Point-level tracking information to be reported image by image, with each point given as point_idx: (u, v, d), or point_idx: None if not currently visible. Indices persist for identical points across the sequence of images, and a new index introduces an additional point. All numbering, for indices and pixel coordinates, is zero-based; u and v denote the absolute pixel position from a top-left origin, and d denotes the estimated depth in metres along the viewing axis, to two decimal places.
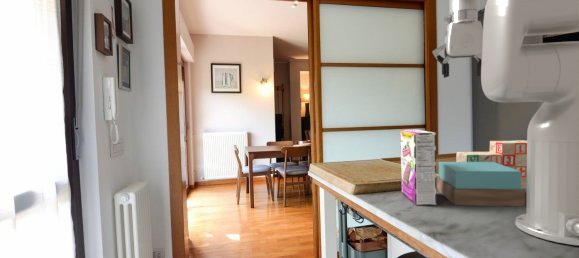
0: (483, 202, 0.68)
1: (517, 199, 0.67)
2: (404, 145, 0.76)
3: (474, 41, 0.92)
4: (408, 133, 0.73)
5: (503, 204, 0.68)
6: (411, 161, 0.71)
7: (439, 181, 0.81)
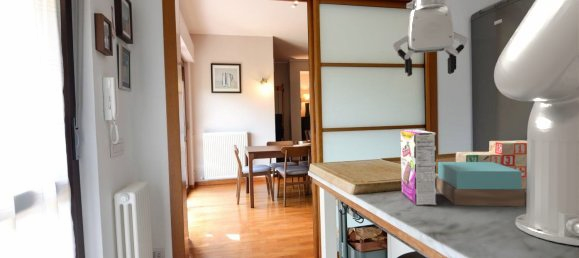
0: (483, 202, 0.68)
1: (517, 199, 0.67)
2: (404, 145, 0.76)
3: (441, 31, 0.75)
4: (408, 133, 0.73)
5: (503, 204, 0.68)
6: (411, 161, 0.71)
7: (439, 181, 0.81)
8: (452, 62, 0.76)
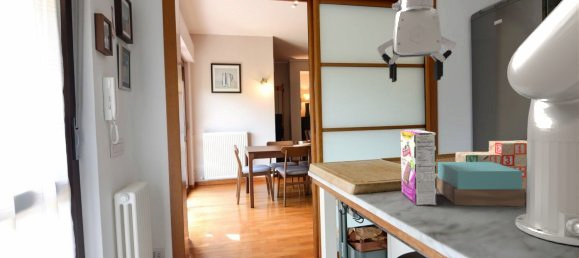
0: (483, 202, 0.68)
1: (517, 199, 0.67)
2: (404, 145, 0.76)
3: (428, 35, 0.70)
4: (408, 133, 0.73)
5: (503, 204, 0.68)
6: (411, 161, 0.71)
7: (439, 181, 0.81)
8: (439, 69, 0.71)
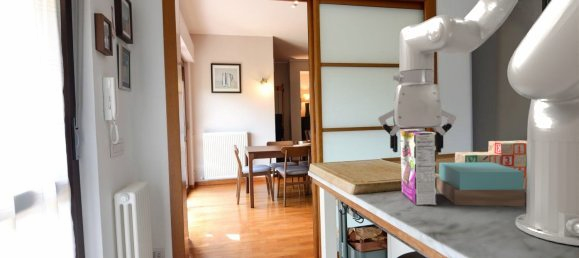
0: (483, 202, 0.69)
1: (517, 199, 0.67)
2: (404, 145, 0.76)
3: (428, 110, 0.71)
4: (408, 133, 0.73)
5: (503, 204, 0.68)
6: (411, 161, 0.71)
7: (439, 181, 0.81)
8: (439, 142, 0.72)
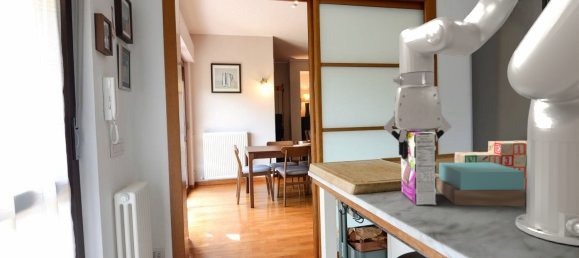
0: (483, 203, 0.69)
1: (517, 200, 0.67)
2: None
3: (429, 112, 0.71)
4: (408, 133, 0.73)
5: (503, 205, 0.68)
6: (411, 160, 0.71)
7: (439, 182, 0.81)
8: None
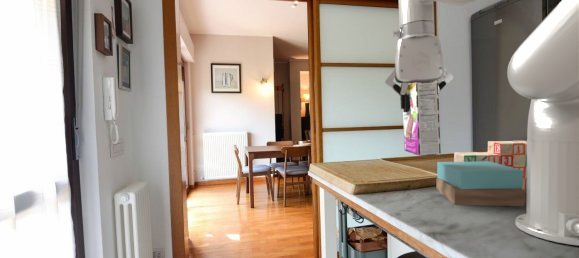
0: (483, 202, 0.69)
1: (517, 198, 0.67)
2: None
3: (430, 62, 0.70)
4: (409, 85, 0.72)
5: (503, 204, 0.68)
6: (414, 111, 0.70)
7: (439, 181, 0.81)
8: None
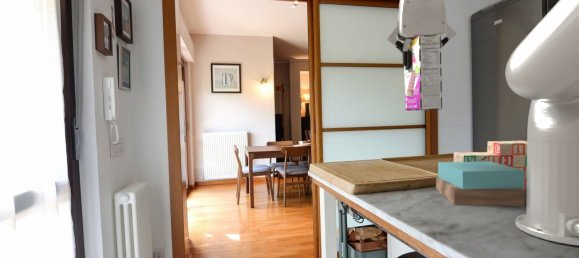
0: (483, 202, 0.68)
1: (517, 199, 0.67)
2: None
3: (433, 17, 0.70)
4: (412, 41, 0.72)
5: (503, 204, 0.68)
6: (416, 66, 0.70)
7: (439, 181, 0.81)
8: None
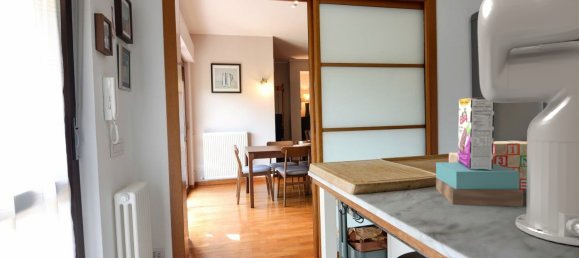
0: (482, 202, 0.69)
1: (516, 200, 0.67)
2: (461, 112, 0.76)
3: None
4: (465, 99, 0.74)
5: (502, 205, 0.68)
6: (467, 126, 0.72)
7: (438, 181, 0.81)
8: None
